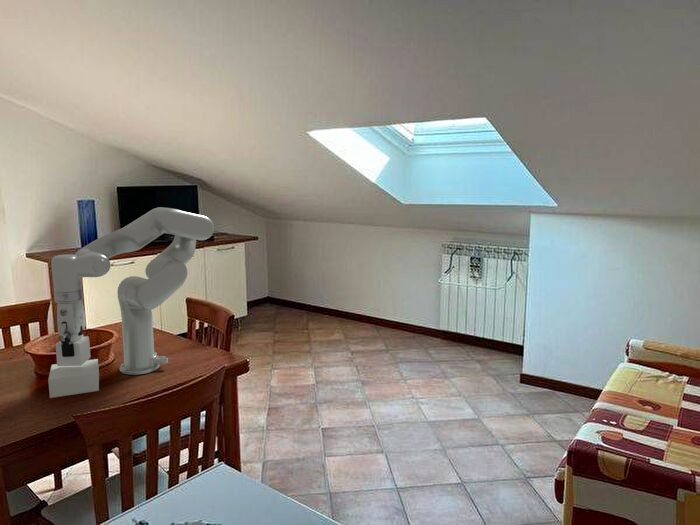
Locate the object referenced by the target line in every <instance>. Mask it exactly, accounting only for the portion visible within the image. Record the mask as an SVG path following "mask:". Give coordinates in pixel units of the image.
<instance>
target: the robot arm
mask: <svg viewBox="0 0 700 525" xmlns="http://www.w3.org/2000/svg"><path fill="white" fill-rule="evenodd" d="M214 232H215V225H214V223H213V221H212V220H211V218H210V217H207V216H205V215H202V214H197V213H192V212H187V211H184V210H180V209H177V208H173V207H172V208H171V207H163V206H162V207H161V206H160V207H159V206H158V207H156V208H152V209H151V210H149V211H147V212H146V213H145V214H143V215H141V216H140V217H138V218H137V219H135V220H133V221H132V222H130V223H128V224H127V225H125V226H124V227H122V228H118V229H117V230H115V231H112V232H110V233H107V234H105V235H103V236H101V237H99V238H97V239H95V240H93V241H91V242H90V243H88V244H86V245H85V246H83V247H81V248H80V249H78V251H77V252H75V254H69V253H68V254H67V253H66V254H59V255H54V256H53V257H52V258H51V264H50V265H51V272H52V273H51V274H52V284H53V296H54V298H53V299H54V303H56V316H57V317H56V320H57V321H56V322H57V332H58V337H59V341H61V347H62V356H63V357H73V356H74V344H73V343H72V338H73V334H74V335H76V334H78V333H79V332H80V327H81V326H82V327H83V329H85V328H86V326H87V321H86V312H85V307H84V302H83V300H84V297H83V296H84V294H83V282H82V278H100V277H103V276H104V275H106V274H108V272H110V269H111V260H110V259H111V258H113V257H115V256H117V255H120V254H126V253H127V254H128V253H132V252H137V251H139V250H141V249H142V248H144V247H145V246H147V245H148V244H150V243H151V242H153V241H154V240H156V239H157V238H158V237H160V236H162V235H164V234H166V235H168V234H169V235H173V236H174V239H173V240H172V242H171V243H170V245H168V247H166V248H165V249H163V251H161V252H160V253H159V254H157V256H155V257H154V258H152V259H151V260H150V261H149V263H148V264H147V265H146V266H145V271H144V272H145V276H146V277H147V278H144V277H141V276H136V275H134V276H133V275H132V276H127V277H125V278H123V280H121V281H120V283H119V284H118V288H117V299H118V303H119V304H118V305H119V309H120V315H121V332H122V346H123V347H122V348H123V362H124V363H122V364H121V365H119V372H120V373H122V374H124V375H131V376H139V375H145V374H149V373H151V372H154V371H156V370H158V369H159V368H160V364H168V361H169V359H168V357H166V355H157V354H158V353H157V351H155V343H154V342H155V341H154V325H153V324H154V321H153V310H155V309H156V308H158V307H159V306H161V305H162V304H163V303H165V302H166V301H167V300H168V299H169V298H170V297H171V296H172V295H173V294H174V293H176V292H177V291H178V290H179V289H180V288H181V287H182V286H183V285H184V284H185V282H186V280H187V278H188V268H187V266H186V265H187V264H188V263H189V262H190V261H191V260H192V259H193V257H194V255H195V252H196V246H197V240H198V241H206V240H207V239H210V238H211V237H212V236H213V235H214ZM66 332H70V333H67V334H65V333H66ZM66 336H69V339H68V338H67V337H66Z"/></svg>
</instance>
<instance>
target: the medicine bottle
mask: <svg viewBox="0 0 700 525" xmlns="http://www.w3.org/2000/svg"><path fill="white" fill-rule="evenodd" d="M67 333H70V332H66V333H65V334H67ZM66 337H67V338H68V339H69V336H66ZM72 343H73V344H74V356H73V357H63V356H62V347H61V341H60V340H59V341H58V342H56V343H55V345H54V346H55V357H56V364H57V366H81V365H82V364H84V363H85V362H86V361H87V360H90V359H91V357H92V356H91V345H90V337H89V335H87V336H86V335H84V330H83V327H82V326H81V327H80V332H79V333H78V334H76V335H74V334H73V338H72Z"/></svg>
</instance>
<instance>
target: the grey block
mask: <svg viewBox="0 0 700 525" xmlns="http://www.w3.org/2000/svg"><path fill="white" fill-rule="evenodd" d="M47 381H48V391H49V399H53V398H59V397H65V396H71V395H72V396H73V395H79V394H86V393H93V392H100V372H99V359H98V358H94V359H88V360H87V361H86V362H85V363H84V364H82V365H81V366H57V363H55V364H51V366H50V371H49V375H48V380H47Z"/></svg>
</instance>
